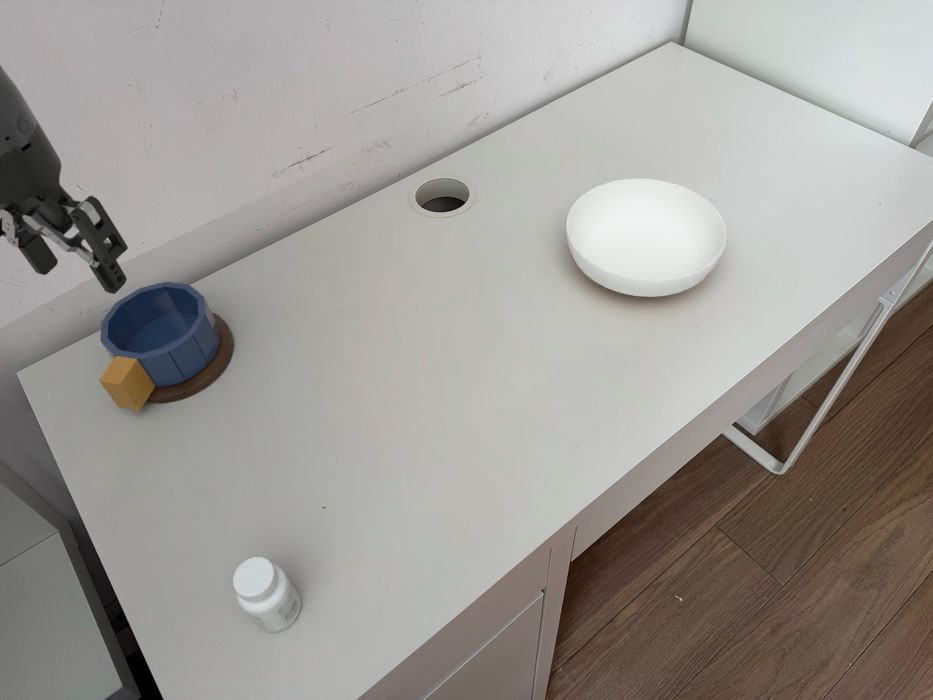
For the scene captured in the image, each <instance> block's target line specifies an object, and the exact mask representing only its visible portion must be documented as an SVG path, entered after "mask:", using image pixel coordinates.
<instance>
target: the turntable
mask: <svg viewBox="0 0 933 700" xmlns="http://www.w3.org/2000/svg"><path fill="white" fill-rule="evenodd" d="M211 312H212V314H213V316H214V318H215V320H216V322H217V324H218V330H219V334H220V343H219V347H218V350H217V352H216V354H215V356H214V358H213V359H212V360H211V362H210V363H209V364H208V365H207V366H206V367H205V368H204V369H203V370H201V371H200V372H199V373H197V374H196V375H194V376H193V377H191V378H189V379H187V380H185V381H183V382H180V383H177V384H174V385H170V386H165V387H155V388H154V389H153V391H152V392H151V394H150V395H149V397H148V399H147V400H146V402H145V403H147V404H168V403H174V402H178V401H181V400H184V399H187V398H190V397H192V396H194V395H196V394H198V393H200V392H202V391H203V390H205V389H206V388H208V387H210V385H212V384H213V383H214V382H216V381H217V379H219V378H220V377H221V376H222V375H223V373H224V372H225V370H226V369H227V368H228V366H229V365H230V362H231V360H232V358H233V354H234V349H235V340H234V336H233V334H232V331H231V329H230V327H229V325H228V324H227V322H226V321H225V320H224V318H222V317H221V316H220V315H218V314H217V313H215V312H213V311H211Z"/></svg>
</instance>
